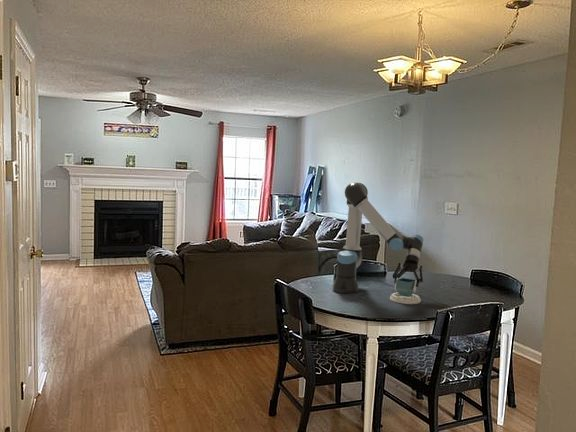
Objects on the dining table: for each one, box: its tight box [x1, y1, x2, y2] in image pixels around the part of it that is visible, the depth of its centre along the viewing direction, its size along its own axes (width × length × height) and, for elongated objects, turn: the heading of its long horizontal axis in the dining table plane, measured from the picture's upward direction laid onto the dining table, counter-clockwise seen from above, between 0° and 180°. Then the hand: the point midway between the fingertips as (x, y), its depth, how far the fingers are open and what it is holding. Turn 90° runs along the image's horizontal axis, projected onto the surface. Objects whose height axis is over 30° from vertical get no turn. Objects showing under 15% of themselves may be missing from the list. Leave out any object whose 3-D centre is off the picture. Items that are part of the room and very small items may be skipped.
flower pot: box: [396, 277, 416, 297], centre depth 278 cm, size 9×9×9 cm
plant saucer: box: [389, 292, 422, 305], centre depth 279 cm, size 17×17×2 cm
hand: (404, 289), depth 275 cm, fingers closed on flower pot, 10 cm apart
